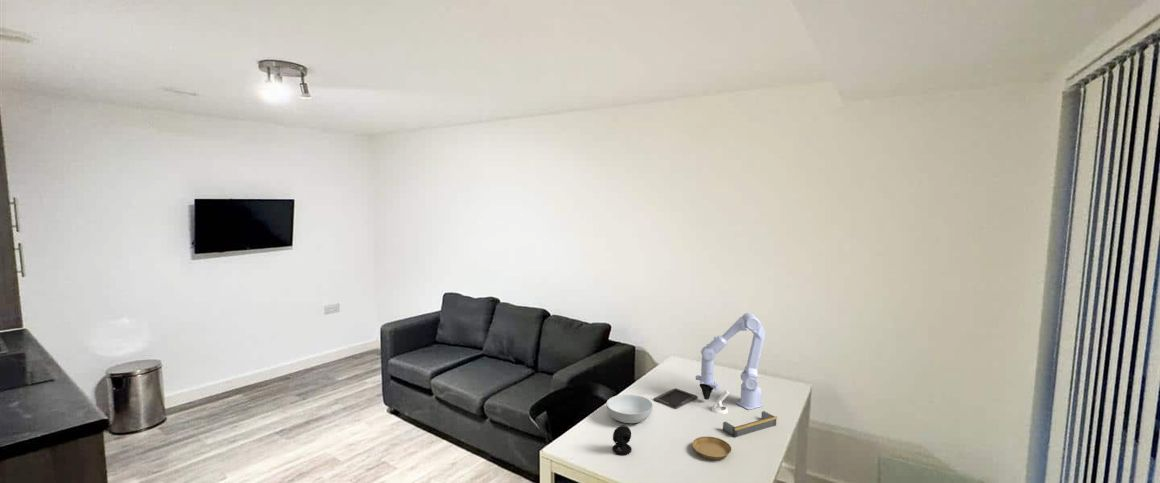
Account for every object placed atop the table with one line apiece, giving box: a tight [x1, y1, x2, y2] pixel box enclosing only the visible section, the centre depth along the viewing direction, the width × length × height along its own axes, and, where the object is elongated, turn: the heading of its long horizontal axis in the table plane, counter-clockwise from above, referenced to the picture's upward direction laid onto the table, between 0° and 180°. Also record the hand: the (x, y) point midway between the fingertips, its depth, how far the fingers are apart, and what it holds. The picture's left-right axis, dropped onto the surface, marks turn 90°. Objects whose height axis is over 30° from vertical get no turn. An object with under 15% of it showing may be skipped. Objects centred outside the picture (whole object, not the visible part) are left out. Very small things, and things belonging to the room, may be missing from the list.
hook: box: [710, 389, 730, 415], centre depth 215 cm, size 8×12×7 cm
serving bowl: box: [605, 394, 654, 424], centre depth 208 cm, size 21×21×7 cm
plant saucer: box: [692, 436, 732, 461], centre depth 180 cm, size 15×15×3 cm
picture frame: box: [653, 387, 699, 410], centre depth 228 cm, size 13×2×18 cm
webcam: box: [611, 425, 633, 456], centre depth 181 cm, size 8×8×10 cm
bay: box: [722, 410, 778, 438], centre depth 199 cm, size 24×7×4 cm, turn 116°
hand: (706, 398), depth 224 cm, fingers closed
